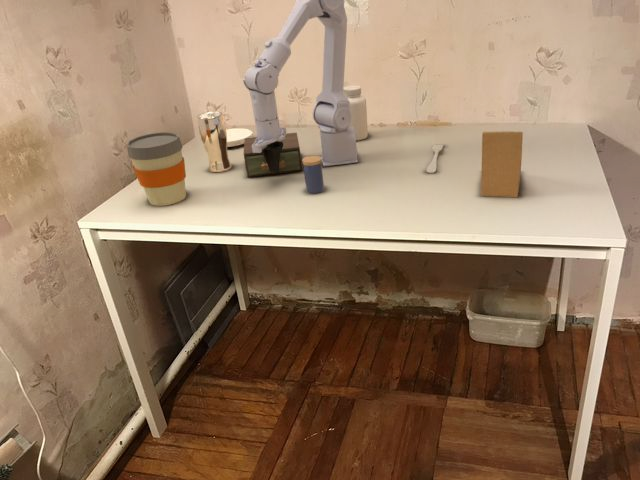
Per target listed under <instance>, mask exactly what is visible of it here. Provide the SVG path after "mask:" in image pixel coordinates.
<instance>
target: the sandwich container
mask: <svg viewBox="0 0 640 480" xmlns="http://www.w3.org/2000/svg"><path fill="white" fill-rule="evenodd" d="M481 135H482V137H481V176H480V177H481V179H480V182H481V183H480V185H481V186H480V196H481V197H497V198H499V197H500V198H518V196H519V190H520V181H521V173H522V159H523V136H524V132H523V131H514V130H513V131H511V130H509V131H508V130H497V131H495V130H493V131H483V132H482V134H481Z"/></svg>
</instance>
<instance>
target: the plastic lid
mask: <svg viewBox="0 0 640 480" xmlns="http://www.w3.org/2000/svg"><path fill="white" fill-rule="evenodd" d="M226 132H227V148H230V147H236V146H240V145H244V142H245V138H252V137H254V132H253V131H252V129H248V128H241V127H240V128H239V127H238V128H228V129H227V128H226Z"/></svg>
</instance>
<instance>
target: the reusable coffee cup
mask: <svg viewBox="0 0 640 480" xmlns="http://www.w3.org/2000/svg"><path fill="white" fill-rule="evenodd" d="M182 149H183V144H182V141H181V139H180V136H179V134H178V133H175V132H171V131H165V132H164V131H163V132H162V131H161V132H151V133H147V134H143V135H139V136H136V137H134V138H131V139H129V140H128V141H127V142H126V151H127V154H128V158H129V159H130V160H131V162H132V165H133V166H132V169H133V171H134V174H135V176H136V178H137V181H138V183H139V185H140V186H141V187H142V188H143V190H144V192H145V195H146V197H147V199H148V202H149V204H150V205H152V206H157V207H160V206H161V207H163V206H169V205H170V206H171V205H174V204H177V203H179V202H182V201H183V200H185V199H186V197H187V191H186V180H185V179H186V176H187V173H186V165H185V158H184V156H183V150H182Z"/></svg>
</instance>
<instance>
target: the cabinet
mask: <svg viewBox="0 0 640 480" xmlns="http://www.w3.org/2000/svg"><path fill="white" fill-rule="evenodd" d="M286 134H287V135H286V136H285V139H283V140H278V141H277V142H283V148H282V150H281V152H286V151H294V150H295V151H298V157H299V164H300V169H299V170H291V171H283V172H274V173H266V174H258V175H249V170H248V165H247V159H246V157H248V156H252V155H260V154H262V153H253V150H252V144H254V142H255V140H256V138H257V136H253V137H252V138H245V142H244V144H243V159H244V165H245V170H246V176H247V178H253V177H263V176H271V175H278V174H279V175H280V174H286V173H287V174H288V173H294V172H295V173H296V172H304V169H303V163H302V155H301V150H300V149H301V147H300V142H299V138H298V133H297V132H288V133H287V132H286Z"/></svg>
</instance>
